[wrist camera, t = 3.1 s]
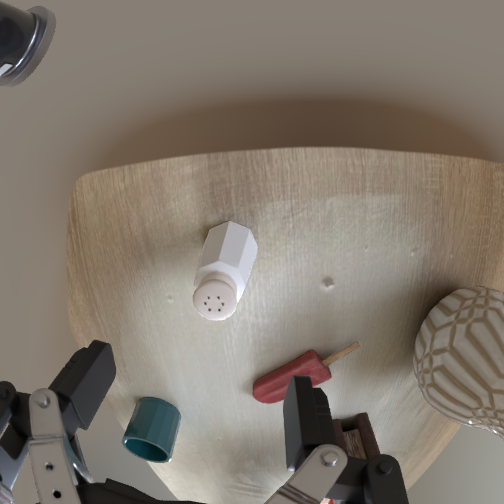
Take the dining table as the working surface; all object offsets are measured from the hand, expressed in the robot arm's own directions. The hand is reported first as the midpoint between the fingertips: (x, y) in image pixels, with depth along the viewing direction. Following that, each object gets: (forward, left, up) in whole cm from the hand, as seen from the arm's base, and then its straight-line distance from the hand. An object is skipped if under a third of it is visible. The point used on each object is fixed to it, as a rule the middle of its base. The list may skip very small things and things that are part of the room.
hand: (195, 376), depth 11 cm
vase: (+30, +4, -18) cm, 35 cm away
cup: (+1, -30, -18) cm, 34 cm away
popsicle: (+15, -10, -18) cm, 25 cm away
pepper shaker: (0, 0, -18) cm, 18 cm away
